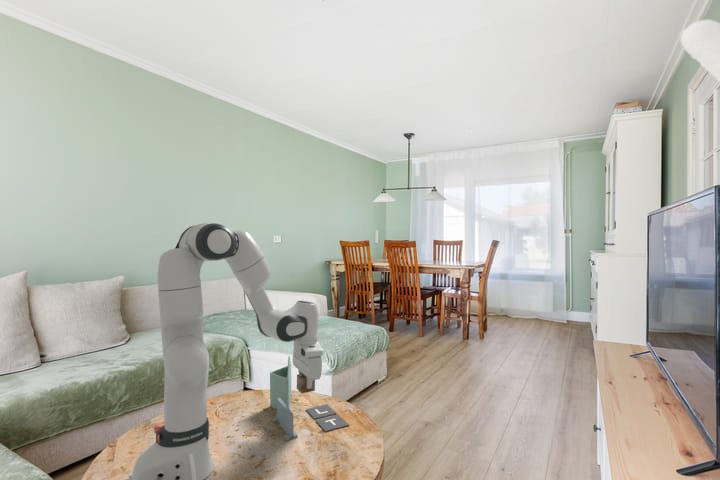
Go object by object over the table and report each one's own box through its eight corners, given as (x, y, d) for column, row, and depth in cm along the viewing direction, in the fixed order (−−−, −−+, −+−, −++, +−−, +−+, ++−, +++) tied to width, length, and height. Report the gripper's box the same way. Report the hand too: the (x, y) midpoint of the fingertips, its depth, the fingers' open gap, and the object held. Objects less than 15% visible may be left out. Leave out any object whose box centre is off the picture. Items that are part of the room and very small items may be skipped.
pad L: (314, 419, 137) (314, 418, 137) (305, 410, 145) (305, 408, 145) (336, 414, 141) (336, 412, 141) (327, 405, 149) (327, 403, 149)
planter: (272, 398, 157) (272, 351, 157) (291, 396, 158) (291, 350, 158) (267, 415, 141) (267, 363, 141) (288, 414, 142) (288, 362, 142)
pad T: (325, 432, 128) (325, 430, 128) (315, 421, 136) (315, 419, 136) (349, 425, 132) (349, 424, 132) (338, 415, 140) (338, 414, 140)
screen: (286, 440, 123) (285, 416, 123) (272, 420, 137) (272, 398, 137) (297, 437, 125) (297, 413, 125) (283, 418, 139) (283, 396, 139)
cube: (300, 393, 130) (301, 378, 130) (296, 388, 135) (296, 374, 135) (314, 390, 133) (315, 376, 133) (309, 386, 137) (309, 372, 137)
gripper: (288, 340, 142) (288, 377, 141) (307, 354, 124) (307, 396, 123) (304, 338, 145) (303, 374, 144) (325, 351, 127) (324, 393, 126)
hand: (305, 384), depth 134 cm, fingers closed on cube, 5 cm apart
